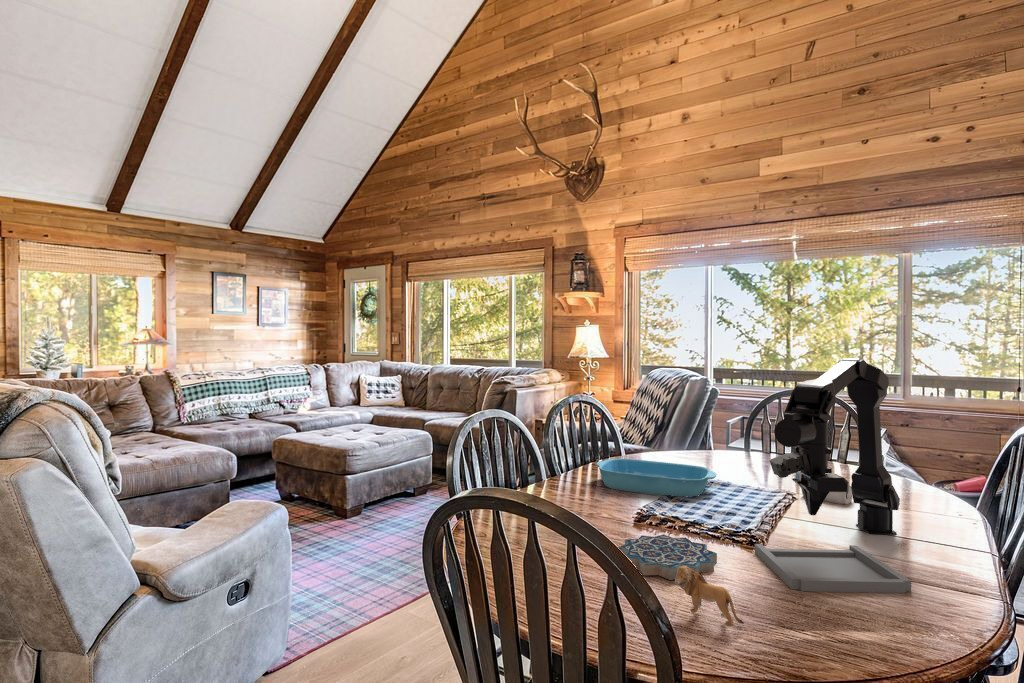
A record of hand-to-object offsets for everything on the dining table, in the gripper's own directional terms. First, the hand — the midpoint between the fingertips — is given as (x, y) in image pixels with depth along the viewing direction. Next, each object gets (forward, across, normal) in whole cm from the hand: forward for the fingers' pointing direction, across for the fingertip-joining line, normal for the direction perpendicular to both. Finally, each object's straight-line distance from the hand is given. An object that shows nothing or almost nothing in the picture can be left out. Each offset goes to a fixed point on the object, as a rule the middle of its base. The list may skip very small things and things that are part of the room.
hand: (812, 514), depth 128 cm
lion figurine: (+10, +27, -30) cm, 41 cm away
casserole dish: (+10, -58, -22) cm, 63 cm away
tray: (+10, +6, 0) cm, 11 cm away
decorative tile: (+10, +1, -31) cm, 33 cm away
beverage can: (+6, -49, +20) cm, 54 cm away
